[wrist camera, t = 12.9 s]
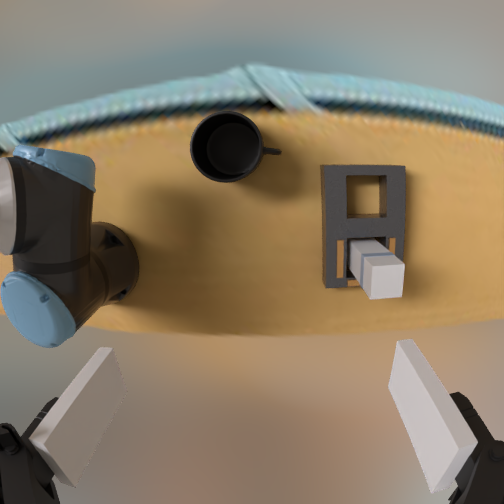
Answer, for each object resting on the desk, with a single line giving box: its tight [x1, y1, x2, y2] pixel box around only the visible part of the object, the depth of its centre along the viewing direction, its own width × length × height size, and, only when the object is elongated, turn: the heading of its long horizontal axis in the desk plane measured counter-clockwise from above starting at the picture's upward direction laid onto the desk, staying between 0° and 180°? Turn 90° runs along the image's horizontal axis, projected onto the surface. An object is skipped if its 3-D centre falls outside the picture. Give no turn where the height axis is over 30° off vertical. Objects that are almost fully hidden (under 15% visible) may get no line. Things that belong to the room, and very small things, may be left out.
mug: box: [190, 111, 282, 183], centre depth 43 cm, size 9×12×9 cm
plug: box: [347, 238, 405, 300], centre depth 44 cm, size 5×5×14 cm
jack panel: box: [320, 165, 406, 288], centre depth 48 cm, size 13×19×4 cm
